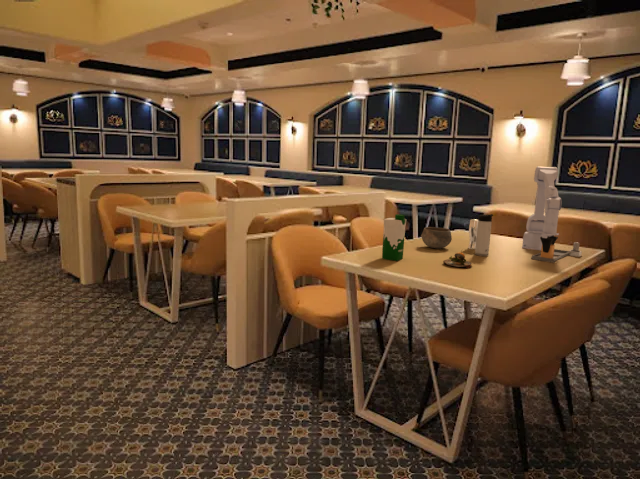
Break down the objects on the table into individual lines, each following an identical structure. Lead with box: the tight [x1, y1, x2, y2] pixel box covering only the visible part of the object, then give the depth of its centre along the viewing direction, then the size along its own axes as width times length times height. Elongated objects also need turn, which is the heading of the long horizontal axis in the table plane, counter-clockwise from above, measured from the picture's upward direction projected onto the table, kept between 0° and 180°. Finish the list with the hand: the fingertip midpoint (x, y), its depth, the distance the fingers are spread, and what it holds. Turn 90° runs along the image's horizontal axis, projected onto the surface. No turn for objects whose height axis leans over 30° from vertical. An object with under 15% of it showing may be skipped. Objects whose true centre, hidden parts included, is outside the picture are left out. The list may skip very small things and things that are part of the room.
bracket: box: [567, 248, 583, 258], centre depth 247 cm, size 5×5×3 cm
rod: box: [572, 241, 580, 252], centre depth 246 cm, size 3×3×7 cm
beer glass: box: [467, 218, 479, 251], centre depth 257 cm, size 7×7×15 cm
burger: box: [442, 250, 473, 270], centre depth 214 cm, size 12×12×8 cm
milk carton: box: [381, 214, 407, 262], centre depth 221 cm, size 9×9×20 cm
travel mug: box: [474, 213, 494, 257], centre depth 239 cm, size 6×7×20 cm
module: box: [540, 244, 556, 258], centre depth 237 cm, size 4×4×7 cm
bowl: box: [420, 226, 453, 250], centre depth 255 cm, size 14×15×10 cm
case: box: [539, 248, 569, 259], centre depth 248 cm, size 10×17×2 cm, turn 139°
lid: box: [531, 252, 562, 263], centre depth 237 cm, size 10×13×2 cm
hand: (547, 251), depth 237 cm, fingers closed on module, 4 cm apart
